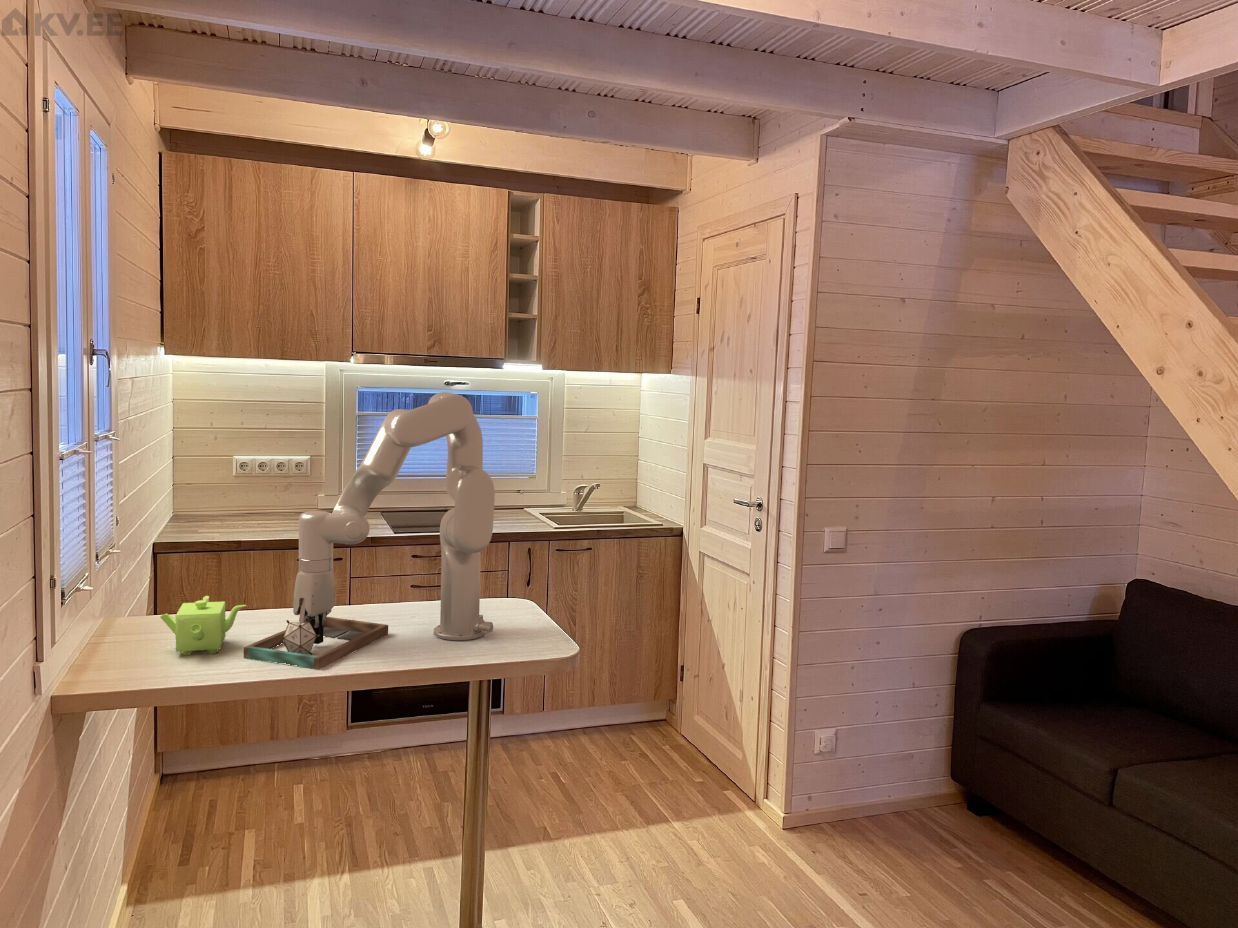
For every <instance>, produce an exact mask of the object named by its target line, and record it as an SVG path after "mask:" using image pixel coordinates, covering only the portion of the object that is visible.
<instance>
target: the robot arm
mask: <svg viewBox="0 0 1238 928" xmlns="http://www.w3.org/2000/svg"><path fill="white" fill-rule="evenodd" d="M473 412H474V411H473V406H472V404H471V403H470V401H469V400H468V399H467V398H466V397H465V396H463V395H460V394H456V393H452V392H438V393H435V394H434V395H432V396H431V397H430V399H429V400H428V402H427V403H426V404H425V405H422V406H419V407H415V408H412V409H403V408H399V409H394V410H391V411H390V412H389V413H388V414H387V415H386V416H385V418H384V420H383V421H382V422H381V424H380V427H379V429H378V430H377V433H376V434H375V437H374V439H373V441H372V442H371V445H370V446H369V449H368V450H367V452H366V454H365V456H364V458H363V459H362V461H361V463H360V465H359V466H358V467H357V469H356V471H355V472H354V474H353V475H352V477H351V478H350V480H349V481H348V483H347V484H346V486H345V487H344V489H343V490H342V492H341V494H340V496H339V498H338V500H337V502H336V504H335V506H334V508H333V510H332V512H329V511H324V510H310V511H304V512H302V513H301V514H300V516H299V518H298V572H297V574H296V576H295V583H294V590H293V605H292V606H293V608H292V609H293V610H292V611H293V615H295V616H299V617H298V622H301V623H305V622H307V621H309V619H311V621H310V623H311V625H312V627H313V629H314V631H315V633H316V635H318V634H319V635H320V636H319V637H318V638H317V639H315V642H314V645H320V644H322V643H324V637H323V632H324V626H322V625H324V624H325V619H326V617H328V615H329V614H330V613H331V612H332V609H333V608H334V607H335V605H336V604H335V603H336V585H335V584H336V583H335V574H334V544H344V545H357V544H360V543H362V542H364V541H365V540H366V539H367V537H368V536H369V533H370V529H371V528H370V523H369V520H368V519H367V518H366V515H367V513H368V511H369V509H370V508H371V506H372V504H373V502H374V501H375V499H376V497H377V496H378V495H379V494H380V493H381V492H382V491H383V490H385V488H387V487H388V486H390V485H391V484H392V483H393V482H394V481H395V480H396V478H397V476H398V474H399V472H400V470H401V468H402V466H403V464H404V462H405V460H406V459H407V456H408V454H409V453H410V451H411V449H412V448H416V447H420V446H421V445H426V444H428V443H431V442H434V441H436V440H440V439H442V438H444V437H446V442H447V443H446V445H447V458H446V459H447V460H446V461H447V462H446V478H445V480H446V481H445V490H446V492H447V495H448V496H449V497H450V498H451V499H452V500H454V507H453V508H451V509H449V510H447V512H445V514H444V515H443V517H442V518H441V521H440V526H439V541H440V552H441V553H440V554H441V555H440V556H441V559H440V560H441V567H440V568H441V572H440V617H439V618H440V624H439V625H437V626H435V627H434V628H433V634H434V636H435V637H437V638H439V639H442V640H447V641H469V640H471V641H472V640H475V639H478V638H481V637H483V636H484V635H485V634H486V632H488V633H492V632H493V630H494V624H493V622H492V621H486V620H484V615H482V614H480V603H481V602H480V599H481V598H480V597H481V596H480V595H481V594H480V593H481V567H482V566H481V564H482V563H481V552H482V551H484V550H485V549H486V548H487V547H488V546H489V544H490V543H491V541H492V536H493V529H494V519H495V517H494V515H495V500H496V498H495V496H496V495H495V494H496V492H495V491H496V490H495V485H494V481H493V479H492V477H491V476H490V474H489V473H488V472H487V471H485V470H484V467H483V466H484V465H483V464H484V463H483V461H484V459H483V458H484V457H483V455H484V454H483V453H484V448H483V447H484V445H483V444H484V443H483V442H484V441H483V440H484V439H483V434H482V429H481V426H480V424H479V422H478V419H477V418H476V416H475V415H474V413H473Z"/></svg>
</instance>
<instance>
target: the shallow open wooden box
mask: <svg viewBox="0 0 1238 928" xmlns="http://www.w3.org/2000/svg"><path fill="white" fill-rule="evenodd" d="M322 626H324V632H323V636H325V637H324V638H329V637H330V639H335V638H337V640H343V639H344V640H345V641H346V642H344V643H342V644H340V645H338V646H336V647H333V648H332V649H329V650H327V651H326V652H323V653H321V654H319V655H313V654H312V655H310V654H308V653H304V654H300V653H293V652H288V651H287V650H285V651H284V650H280V649H279V650H278V649H274V648H276V646H277V645H279V646H281V645H282V644H281V643H283V641H279V640H280V638H281V637H283V636H284V634H285V631H286V629H284V630H283V631H282V630H281V631H280V632H277V633H275V634H272V635H269V636H267V637H265V638H262V639H260V640H258V641H255V642H252V643H250V644H248V645H246V646H243V659H247V660H253V659H255V661H259V660H261V662H266V661H271V662H270V663H272V662H277V663H276V664H279V663H286V664H290V665H289V666H292V665H297V666H296V667H298V666H301V667H300V668H305V667H307V669H312V670H321V669H323V668H325V667H327V666H329V665H331V664H334V663H335V662H337V661H339V660H341V659H343V658H345V657H347V656H349V655H351V654H353V653H355V652H357V651H358V650H361V649H363V648H365V647H366V646H368V645H369V646H370V644H373V643H375V642H376V641H379V640H381V639H383V638H385V637H387V636H388V635H389V624H383V623H377V622H370V621H363V620H357V619H356V620H355V619H347V618H339V617H334V616H333V617H332V616H326V619H325V624H324V625H322ZM280 644H281V645H280ZM273 647H274V648H273ZM277 647H278V646H277ZM271 648H272V649H271ZM356 650H357V651H356ZM354 651H355V652H354ZM352 652H353V653H352ZM350 653H351V654H350ZM348 654H349V655H348Z"/></svg>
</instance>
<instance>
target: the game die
mask: <svg viewBox="0 0 1238 928" xmlns="http://www.w3.org/2000/svg"><path fill="white" fill-rule="evenodd" d="M310 621H311V619H309V621H307V622H305V623H301V622H299V621H297V622H295V621H293V622H290V621H289V619H286V623H287V626H286V628H285V630H286V631H285V634H284V636H283V637H281V638H280V640H279V641H283V643H284V644H283V645H284V647H285V649H286V651H287V652H293V653H300V654H308V655H313V653H312V649H313V646H314V645H315V644H314V642H315V639H317V638H318V637H319V636H320V635H319V634H318V635H316V633H315V631H314V629H313V627H312V625H311V623H310Z"/></svg>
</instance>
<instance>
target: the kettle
mask: <svg viewBox="0 0 1238 928" xmlns="http://www.w3.org/2000/svg"><path fill="white" fill-rule="evenodd" d="M246 606H247V604H239V605H235V606H234V607H232V609H231V610H230V613H229V616H228V617H227V619H226V601H210V596H209V595H205V596H203V597H202V599H201V600H196V601H194V602H183V603H182V604H181V606H180V607H179V609H178V611H177V613H176V615H175V618H174V617H172V616H171V615H170V614H169V613H168V612H167V613H163V614H160V616H159V617H160V619H161V620H162V621H163V622H164V623H165V624H166V626H167V627H168V628H169V630H171V631H172V633H173V634H174V635H175V652H181V653H180V655H181V656H189V655H192V654H193V652H195V651H207V654H209V653H215V654H217V653H216V652H218V653H219V650H221V648H222V646H223V643H224V642H225V641H224V640H225V638H226V633H227V632H229V631H230V629H232V627H233V625H234V622H235V621H236V616H237V614H238V612H239V611H240V610H241V609H243V608H245V607H246Z"/></svg>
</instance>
